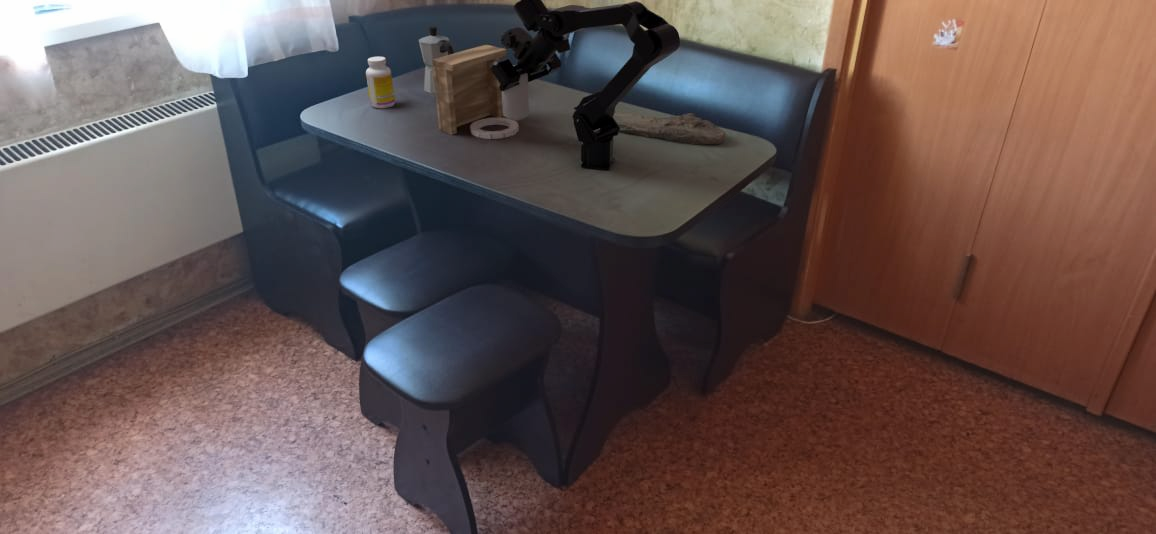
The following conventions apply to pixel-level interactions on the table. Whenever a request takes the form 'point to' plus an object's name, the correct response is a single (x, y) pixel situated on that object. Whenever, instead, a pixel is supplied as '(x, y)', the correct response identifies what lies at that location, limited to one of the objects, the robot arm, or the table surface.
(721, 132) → the elongated rock
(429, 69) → the coffee maker
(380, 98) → the supplement bottle
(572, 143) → the table surface
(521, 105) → the beverage can
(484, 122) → the socket ring
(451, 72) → the wooden tray
